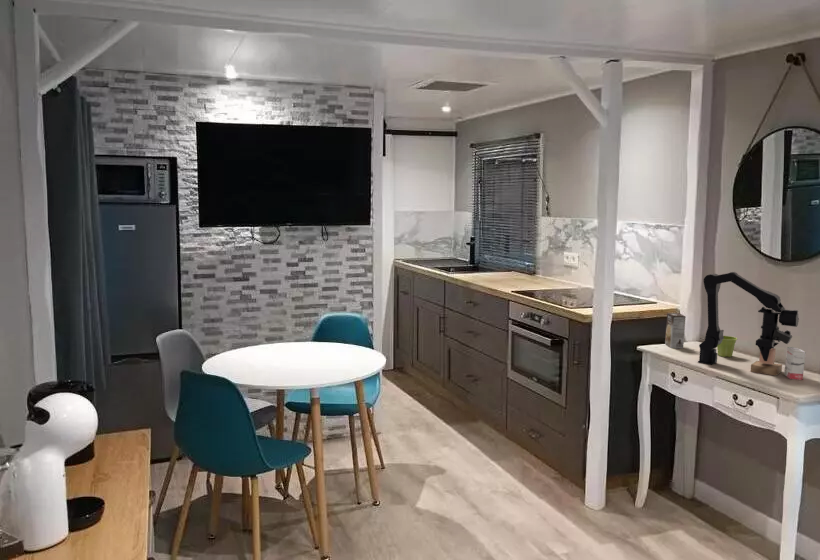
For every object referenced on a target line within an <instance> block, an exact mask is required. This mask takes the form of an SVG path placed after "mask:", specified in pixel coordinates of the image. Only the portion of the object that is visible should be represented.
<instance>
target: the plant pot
mask: <svg viewBox="0 0 820 560" xmlns="http://www.w3.org/2000/svg"><path fill="white" fill-rule="evenodd" d="M723 337H724V339H722V343H721V344H719V345H718V346H717V348H716V349H717V350H716V351H717V353H718V354H717V356H719V357H723V358H726V357H728V358H731V357H733V353H734V348H735V345H736V342H737V340H738V338H737V337H735V336H730V335H723Z"/></svg>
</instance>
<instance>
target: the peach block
mask: <svg viewBox="0 0 820 560" xmlns="http://www.w3.org/2000/svg"><path fill="white" fill-rule="evenodd" d="M758 359H759V360H758V361H759V363H766V364H773V363H776V362H775V361H776V360H775V359H776V348H775V347H774V348H772V349H770V352H769V356H768V359H767V361H764V359H763V357H762V354H761V352H760V351H759V358H758Z"/></svg>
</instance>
